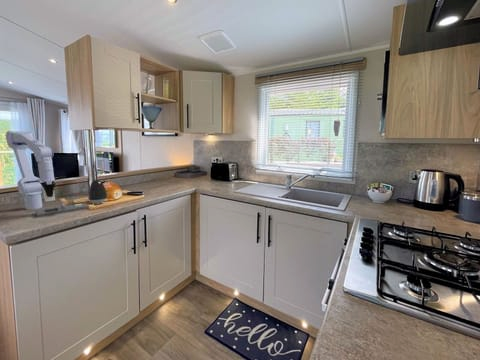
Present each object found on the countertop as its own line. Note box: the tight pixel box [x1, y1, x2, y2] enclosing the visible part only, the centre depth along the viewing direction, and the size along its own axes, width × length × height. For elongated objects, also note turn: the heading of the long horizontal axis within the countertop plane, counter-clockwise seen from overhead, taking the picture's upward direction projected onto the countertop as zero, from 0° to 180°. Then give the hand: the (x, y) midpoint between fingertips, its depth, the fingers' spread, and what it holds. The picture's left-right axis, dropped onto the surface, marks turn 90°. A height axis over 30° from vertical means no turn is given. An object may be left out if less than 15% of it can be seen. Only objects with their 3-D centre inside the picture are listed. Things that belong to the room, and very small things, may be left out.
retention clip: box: [59, 197, 69, 205], centre depth 123 cm, size 2×9×2 cm, turn 49°
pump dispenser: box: [87, 179, 108, 205], centre depth 144 cm, size 10×10×15 cm
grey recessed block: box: [35, 201, 90, 218], centre depth 126 cm, size 9×22×6 cm, turn 135°
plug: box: [43, 189, 56, 202], centre depth 121 cm, size 4×4×5 cm
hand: (49, 196), depth 121 cm, fingers closed on plug, 4 cm apart
